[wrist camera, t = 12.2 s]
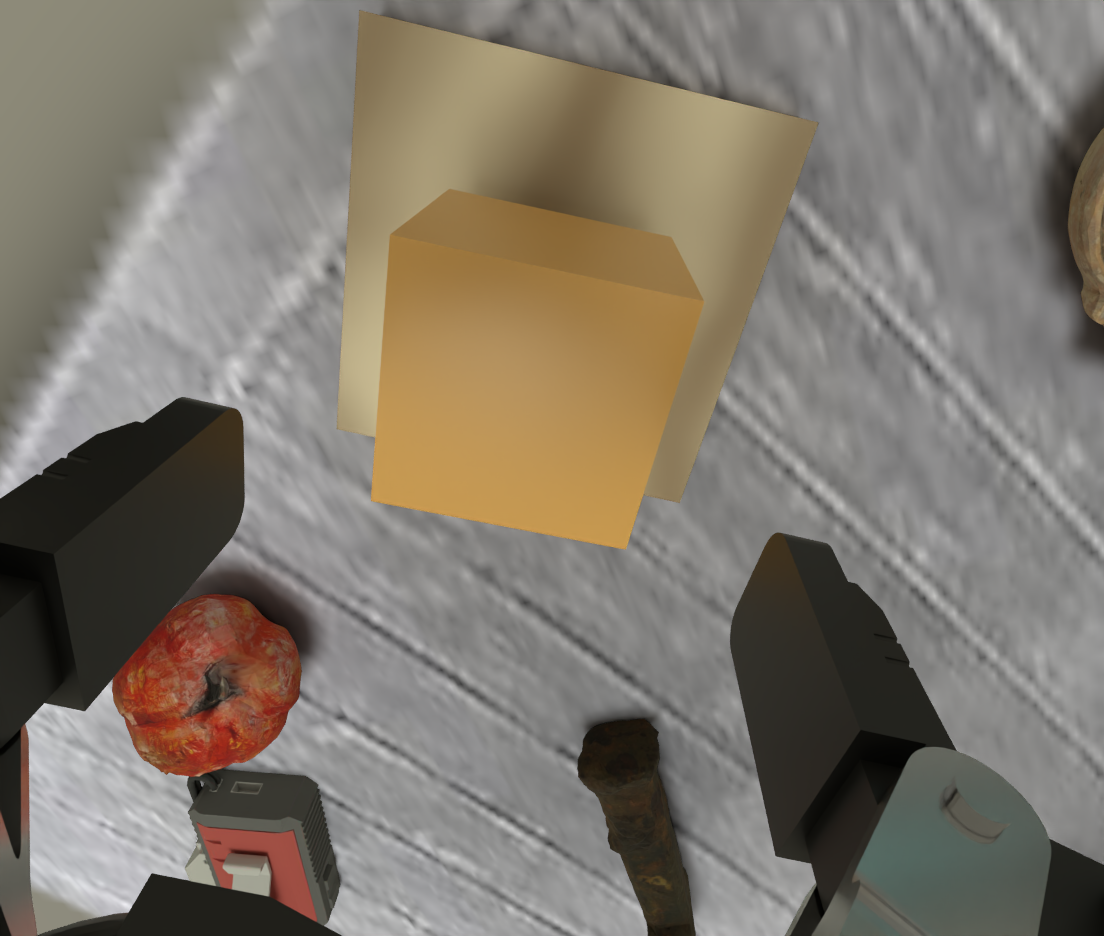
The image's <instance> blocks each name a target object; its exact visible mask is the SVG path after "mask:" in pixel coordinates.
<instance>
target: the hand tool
mask: <svg viewBox="0 0 1104 936" xmlns="http://www.w3.org/2000/svg"><path fill="white" fill-rule="evenodd" d="M658 733H659V732H658V731H657V730H656V729H655V728H654V727H653V726H652V725H651V724H650V723H649V722H648V721H646V720H645V719H636V720H628V721H626V720H622V721H614V722H608V723H604V724H601V725H598V726H595V727H593V728H592V729H591V730H590V731H589V732H588V733H587V734H586V735H585V737H584V739H583V748H582V752H581V754H580V756H579V758H578V767H577V770H578V777H579V778H580V780H581V781H582V782H583V784H584V785H585V786H587V788H588V789H589V790H591V791H592V792H594V793H595V794H596V796H597V797H598V798H599V801H600V803H601V806H602V809H603V812H604V814H605V816H606V824H607V827H608V828H609V834H608V842H609V845H610V849H612V850H613V851H615V852H617V853H619V854H620V855H621V858H622V860H623V863H624V865H625V868H626V871H627V874H628V876H629V879H630V881H631V883H632V885H633V888H634V891H635V894H636V896H637V898H638V900H639V903H640V905H641V908H642V910H643V914H644V917H645V919H646V922H647V928H648V936H696V933H695V927H694V919H693V912H692V906H691V896H690V889H689V882H688V875H687V873H686V871H685V869H684V867H683V865H682V861H681V856H680V852H679V848H678V844H677V840H676V835H675V832H674V830H673V827H672V824H671V820H670V816H669V808H668V803H667V798H666V794H665V790H664V788H663V786H662V783H661V779H660V778H659V776H658V774H657V767H658V763H659V759H660V754H659V743H658V740H657V736H658Z"/></svg>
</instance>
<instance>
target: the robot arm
mask: <svg viewBox="0 0 1104 936" xmlns="http://www.w3.org/2000/svg"><path fill="white" fill-rule="evenodd" d="M244 498H245V492H244V435H243V420H242V416H241V414H240V412H239V411H238V410H237V409H235V408H230V407H226V406H221V405H217V404H213V403H208V402H204V401H199V400H195V399H190V398H186V397H181V398H178V399H176V400H175V401H173V402H172V403H170V404H169V405H167V406H166V407H165V408H163V409H162V410H160V411H159V412H158V413H156V414H155V415H153V416H152V417H151V418H149V419H148V420H146V421H145V422H143V423H141V422H137V421H135V422H132V423H129V424H126V425H123V426H120V427H117V428H114V429H111V430H108V431H105V432H102V433H99V434H96V435H95V436H93V437H92V438H90V439H89V440H87V441H86V442H84V443H83V444H81V445H80V446H78V447H77V448H75V449H74V450H72V451H71V452H69V453H68V456H67V458H60V459H59V460H57V461H56V462H54V463H53V464H51V465H50V466H48V467H47V468H45V469H44V470H43V474H42V475H38V474H36V475H35V476H33V477H32V478H30V479H29V480H27V481H26V482H24V483H23V484H21V485H20V486H18V487H17V488H15V489H14V490H12V491H11V492H9V493H8V494H6V495H5V496H3V497H2V498H0V936H341V935H340V934H338V933H336V932H334V931H332V930H330V929H328V928H327V927H325V926H323V925H321V924H319V923H317V922H316V921H314V920H312V919H310V918H308V917H306V916H305V915H303V914H301V913H299V912H297V911H295V910H294V909H292V908H290V907H288V906H286V905H284V904H282V903H281V902H279V901H277V900H275V899H273V898H271V897H269V896H264V895H259V894H254V893H249V892H244V891H239V890H233V889H228V888H223V887H218V886H213V885H208V884H203V883H198V882H193V881H188V880H183V879H178V878H172V877H167V876H162V875H157V874H151V875H150V877H149V879H148V881H147V882H146V884H145V886H144V887H143V889H142V891H141V893H140V894H139V896H138V898H137V899H136V901H135V903H134V904H133V906H132V908H131V910H130V911H129V913H119V914H112V915H107V916H103V917H98V918H93V919H88V920H83V921H80V922H76V923H73V924H70V925H67V926H64V927H60V928H57V929H54V930H51V931H48V932H45V933H42V934H40V935H37V928H36V921H35V915H34V909H33V903H32V894H31V883H30V831H29V739H28V732H27V728H26V725H25V723H26V722H27V721H28V720H29V719H30V718H31V717H32V716H33V714H34V713H35V712H36V711H37V710H38V709H39V708H40V707H41V706H42V705H43V704H44V703H47V704H52V705H57V706H62V707H67V708H72V709H77V710H81V711H86V709H87V708H88V707H89V706H90V705H91V703H92V702H93V701H94V700H95V699H96V698H97V696H98V695H99V694H100V693H101V692H102V690H103V689H104V688H105V687H106V686H107V685H108V683H109V682H110V681H111V680H112V679H113V677H114V676H115V675H116V674H117V673H118V672H119V670H120V669H121V668H122V667H123V666H124V665H125V663H126V662H127V661H128V660H129V659H130V657H131V656H132V655H133V654H134V653H135V652H136V650H137V649H138V648H139V647H140V646H141V644H142V643H143V642H144V641H145V640H146V639H147V637H148V636H149V635H150V634H151V633H152V631H153V630H154V629H155V628H156V627H157V626H158V624H159V623H160V622H161V621H162V620H163V619H164V617H165V616H166V615H167V614H168V613H169V611H170V610H171V609H172V608H173V607H174V606H175V604H176V603H177V602H178V601H179V600H180V598H181V597H182V596H183V595H184V594H185V593H186V591H187V590H188V589H189V588H190V587H191V585H192V584H193V583H194V582H195V581H196V580H197V578H198V577H199V576H200V575H201V574H202V572H203V571H204V570H205V569H206V568H207V567H208V565H209V564H210V563H211V562H212V561H213V560H214V558H215V557H216V556H217V555H218V554H219V552H220V551H221V550H222V549H223V548H224V547H225V545H226V544H227V543H228V542H229V541H230V539H231V538H232V537H233V535H234V533H235V531H236V529H237V527H238V525H239V523H240V520H241V516H242V513H243V508H244ZM730 646H731V653H732V657H733V662H734V666H735V671H736V676H737V680H738V685H739V689H740V694H741V699H742V703H743V708H744V712H745V717H746V722H747V726H748V731H749V735H750V740H751V745H752V749H753V754H754V759H755V763H756V768H757V772H758V777H759V782H760V786H761V791H762V795H763V800H764V805H765V809H766V814H767V818H768V823H769V828H770V832H771V837H772V841H773V846H774V851H775V855H776V856H777V857H782V858H787V859H791V860H796V861H801V862H806V863H811V864H812V868H813V872H814V876H815V880H816V883H815V885H814V886H813V887H812V889H811V890H810V891H809V893H808V894H807V895H806V897H805V899H804V901H803V902H802V904H801V906H800V908H799V910H798V912H797V914H796V916H795V918H794V919H793V921H792V923H791V925H790V927H789V929H788V931H787V933H786V934H785V936H1104V865H1103V864H1101V863H1099V862H1096V861H1094V860H1092V859H1090V858H1088V857H1086V856H1084V855H1082V854H1080V853H1078V852H1076V851H1073V850H1071V849H1069V848H1067V847H1065V846H1063V845H1061V844H1059V843H1057V842H1055V841H1053V840H1050V839H1049V837H1048V835H1047V832H1046V830H1045V827H1044V826H1043V824H1042V822H1041V820H1040V818H1039V817H1038V815H1037V814H1036V812H1035V811H1034V810H1033V808H1032V807H1031V805H1030V804H1029V803H1028V802H1027V801H1026V800H1025V798H1024V797H1023V796H1022V795H1021V794H1020V793H1019V792H1018V791H1017V790H1016V789H1015V788H1014V787H1013V786H1012V785H1011V784H1010V783H1009V782H1007V781H1006V780H1005V779H1004V778H1003V777H1001V776H1000V775H999V774H997V773H996V772H995V771H993V770H992V769H990V768H989V767H987V766H986V765H984V764H982V763H981V762H979V761H977V760H976V759H974V758H971V757H969V756H967V755H965V754H963V753H960V752H957V751H956V749H955V747H954V745H953V743H952V741H951V739H950V738H949V736H948V734H947V732H946V730H945V728H944V726H943V724H942V722H941V720H940V719H939V717H938V715H937V713H936V711H935V709H934V707H933V705H932V703H931V701H930V700H929V698H928V696H927V694H926V692H925V690H924V688H923V686H922V684H921V682H920V681H919V679H918V677H917V675H916V673H915V671H914V669H913V668H910V667H909V663H910V662H909V660H908V658H907V656H906V654H905V652H904V650H903V648H902V646H901V644H897V637H896V635H895V633H894V631H893V629H892V627H891V625H890V624H889V622H888V620H887V618H886V616H885V614H884V612H883V610H882V609H881V608H880V607H879V606H878V605H877V604H876V603H875V602H874V601H873V600H872V599H871V598H870V597H869V596H868V595H867V594H866V593H865V592H864V591H863V590H862V589H861V588H860V587H859V586H858V585H857V584H855V583H851V582H848V581H847V579H846V577H845V574H844V572H843V570H842V568H841V566H840V564H839V562H838V560H837V558H836V556H835V554H834V552H833V550H832V548H831V547H830V546H829V545H828V544H827V543H823V542H819V541H814V540H810V539H805V538H801V537H797V536H792V535H788V534H783V533H775V534H774V535H772V536H771V538H770V539H769V540H768V542H767V544H766V545H765V547H764V550H763V552H762V554H761V556H760V558H759V560H758V562H757V565H756V567H755V569H754V571H753V573H752V575H751V577H750V580H749V582H748V584H747V586H746V588H745V590H744V592H743V595H742V597H741V599H740V601H739V603H738V605H737V608H736V610H735V613H734V616H733V620H732V625H731V633H730Z"/></svg>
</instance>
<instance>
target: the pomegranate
mask: <svg viewBox="0 0 1104 936" xmlns="http://www.w3.org/2000/svg"><path fill="white" fill-rule="evenodd" d="M301 672H302V670H301V663H300V658H299V654H298V650H297V647H296V644H295V642H294V640H293V639H292V637H291V635H290V634H289V632H288V630H287V629H286V628H284V627H282V626H279V625H277V624H274V623H272V622H271V621H269V620H268V619H266V618H265V617H264V616H263V615H262V614H261V613H260V612H259V611H258V610H257V608H256V607H255V606H254V605H253V604H252V603H251V602H249V601H248V600H246V599H244V598H241V597H238V596H235V595H219V594H209V595H201V596H199V597H197V598H194V599H191V600H189V601H186V602H184V603H182V604H180V605H178V606H177V607H175V608H174V609H172V610H170V611H169V613H168V614H167V615H166V616H165V617H164V619H163V620H162V621H161V622H160V623H159V624H158V626H157V627H156V628H155V629H154V630H153V631H152V633H151V634H150V635H149V636H148V637H147V639H146V640H145V641H144V642H143V643H142V644H141V646H140V647H139V648H138V649H137V650H136V652H135V653H134V654H133V655H132V656H131V657H130V659H129V660H128V661H127V662H126V663H125V665H124V666H123V667H122V668H121V669H120V670H119V672H118V673H117V674H116V675H115V676H114V678H113V686H112V692H113V699H114V703H115V705H116V707H117V709H118V712H119V713H120V714H121V715H122V716H123V717H124V718H125V722H126V726H127V728H128V731H129V733H130V736H131V738H132V741H133V745H134V747H135V749H136V751H137V752H138V754H139V755H140V757H141V758H142V759H143V760H144V761H147V762H149V763H150V764H151V765H153V766H155V767H156V768H158V769H159V770H160V771H161V772H164V773H165V774H166V775H167V774H168V773H169V772H170V773H173V774H175V775H184V776H190V777H194V776H201V775H202V774H204V773H208V772H211V771H214V770H218V769H221V768H224V767H226V766H228V765H230V764H232V763H243V762H246V761H248V760H250V759H252V758H254V757H255V756H256V755H257V754H258V753H260V752H261V751H262V750H264V749H265V748H266V747H267V746H268V745H269V744H271V742H272V741H273V740H275V739H276V738H277V737H278V735H279V734H280V732H281V730H282V729H283V727H284V725H285V723H286V720H287V715H288V711H289V709H291V708H292V706H293V705H294V704H295V703H296V701H297V700H298V698H299V690H300V680H301Z"/></svg>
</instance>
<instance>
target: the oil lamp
mask: <svg viewBox="0 0 1104 936" xmlns="http://www.w3.org/2000/svg"><path fill="white" fill-rule="evenodd" d="M1068 231H1069V237H1070V243H1071V249H1072V252H1073V255H1074V258H1075V261H1076V264H1077V266H1078V268H1079V270H1080V272H1081V274H1082V277H1083V281H1084V284H1083V289H1082V292H1081V297H1082V302H1083V307H1084V310H1085V312H1086V313H1087V315H1088V316H1089V317H1090V318H1091V319H1092V320H1094V321H1096V322H1097V323H1099V324H1103V326H1104V128H1103V129H1102V130H1101V131H1100V133H1099V134H1098V136H1097V137H1096V138H1095V140H1094V141H1093V143H1092V144H1091V146H1090V148H1089V149H1088V151H1087V153H1086V155H1085V156H1084V159H1083V161H1082V163H1081V165H1080V168H1079V171H1078V174H1077V177H1076V180H1075V183H1074V186H1073V190H1072V195H1071V200H1070V208H1069V216H1068Z"/></svg>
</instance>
